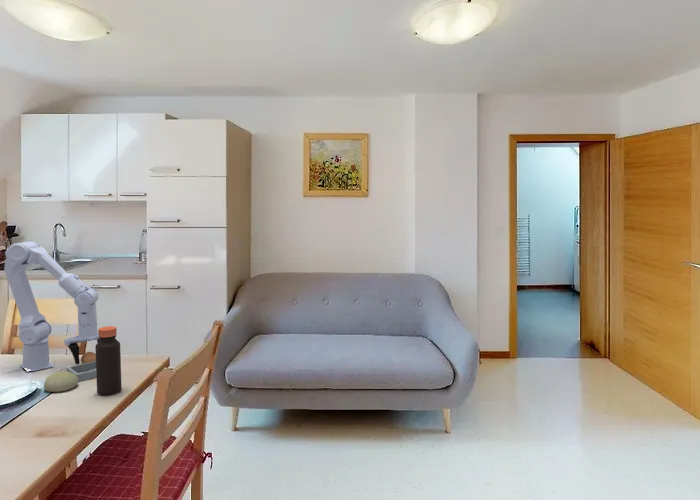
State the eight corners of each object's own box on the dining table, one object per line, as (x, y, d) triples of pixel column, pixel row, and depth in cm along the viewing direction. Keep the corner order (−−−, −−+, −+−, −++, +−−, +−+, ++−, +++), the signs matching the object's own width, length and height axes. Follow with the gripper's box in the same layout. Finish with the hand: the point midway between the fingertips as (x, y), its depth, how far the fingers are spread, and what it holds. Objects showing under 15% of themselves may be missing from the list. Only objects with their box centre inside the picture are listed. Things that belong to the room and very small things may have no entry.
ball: (79, 365, 166) (78, 352, 166) (94, 362, 170) (93, 349, 169) (84, 369, 163) (83, 355, 162) (99, 365, 167) (98, 352, 166)
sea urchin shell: (64, 389, 141) (48, 369, 142) (50, 405, 143) (33, 385, 143) (87, 378, 150) (71, 359, 151) (73, 393, 152) (57, 375, 152)
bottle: (110, 385, 149) (108, 324, 147) (126, 389, 147) (124, 326, 145) (91, 393, 143) (89, 329, 141) (108, 397, 140) (106, 332, 138)
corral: (66, 374, 158) (66, 367, 158) (100, 366, 166) (99, 359, 165) (76, 382, 151) (76, 374, 151) (111, 373, 159) (110, 366, 159)
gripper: (68, 329, 157) (70, 368, 158) (113, 321, 168) (115, 358, 169) (61, 325, 162) (63, 363, 163) (105, 318, 172) (107, 354, 174)
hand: (89, 360), depth 166 cm, fingers open, 7 cm apart
